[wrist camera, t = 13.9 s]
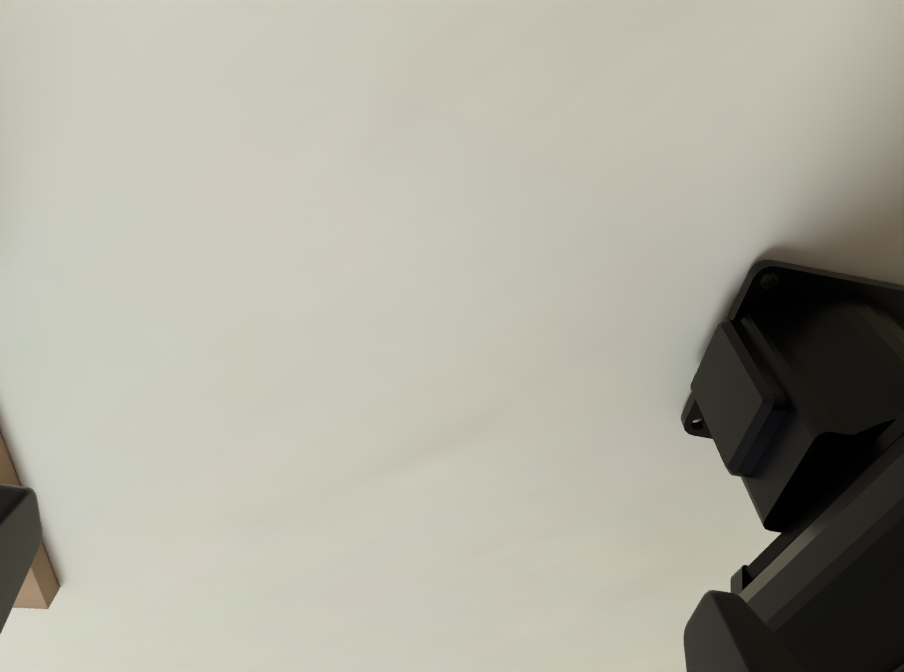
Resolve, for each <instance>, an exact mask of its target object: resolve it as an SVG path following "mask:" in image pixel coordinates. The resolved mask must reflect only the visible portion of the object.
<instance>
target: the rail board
mask: <svg viewBox="0 0 904 672" xmlns="http://www.w3.org/2000/svg"><path fill="white" fill-rule="evenodd" d="M0 484H9V485H16V486H20V483H19V480H18V478H17V475H16V472H15V470H14V467H13V465H12V462H11V459H10V457H9V454H8V451H7V449H6V446H5V444H4V441H3V438H2V436H1V433H0ZM59 589H60V588H59V586H58V583H57V580H56V578H55V575H54V572H53V570H52V567H51V565H50V562H49V559H48V557H47V554H46V551H45V549H44V546H43V543H42V541H41V543H40V547H39V550H38V552H37V554H36V556H35V559H34V561H33V563H32V565H31V568H30V570H29V572H28V574H27V576H26V579H25V581H24V583H23V585H22V587H21V590H20V592H19V594H18V596H17V598H16V601H15V603H14V605H13V607H12V608H36V609H48V608H49V606H50V604H51V603H52V601H53V599H54V598H55V596H56V594H57V592H58V591H59Z"/></svg>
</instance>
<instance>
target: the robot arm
mask: <svg viewBox="0 0 904 672" xmlns="http://www.w3.org/2000/svg"><path fill="white" fill-rule="evenodd" d="M767 274H773V277H772V278H771V279H770V280H769V281H767V282H761V279H762V278H763V277H764V276H765V275H767ZM691 390H692V393H691V396H690V398H689V400H688V402H687V404H686V406H685V408H684V410H683V413H682V415H681V421H682V424H683V427H684V429H685V431H686V432H687V433H688V434H691V435H693V436H699V437H705V438H711V439H713V440H714V442H715V444H716V447H717V449H718V451H719V453H720V456H721V458H722V460H723V463H724V465H725V467H726V468H727V470H728V472H729V473H730V474H731V475H733V476H739V477H741V478H742V480H743V483H744V485H745V487H746V489H747V491H748V494H749V496H750V498H751V500H752V502H753V504H754V507H755V509H756V511H757V513H758V515H759V518H760V520H761V522H762V524H763V526H764V528H765V529H767V530H769V531H774V532H780V533H781V534H780V535H779V536H778V537H777V538H776V539H775V540H774V541H773V542H772V543H771V544H770V545H769V546H768V547H767V548H766V549H765V550H764V551H763V552H762V553H761V554H760V555H759V556H758V557H757V558H756V559H755V560H754V561H753V562H752V563H751V564H750V565H749V566H747V565H744V566H742V567H741V568H740V569H739V570H738V571H737V572H736V573H735V574H734V575H733V576H732V577H731V593H729V592H722V591H716V590H710V591H708V592H707V593H705V594H704V596H703V597H702V599H701V601H700V602H699V604H698V606H697V607H696V609H695V611H694V613H693V614H692V616H691V618H690V619H689V621H688V623H687V625H686V627H685V631H684V650H685V659H686V668H687V672H904V286H901V285H896V284H891V283H886V282H881V281H876V280H871V279H866V278H861V277H855V276H850V275H845V274H840V273H835V272H830V271H825V270H820V269H815V268H810V267H804V266H799V265H794V264H789V263H784V262H779V261H774V260H764V261H761V262H758V263H757V264H755V265H754V266H753V267H752V268H751V269H750V271H749V273H748V275H747V277H746V279H745V281H744V283H743V285H742V287H741V289H740V292H739V294H738V296H737V298H736V300H735V302H734V304H733V306H732V309H731V311H730V313H729V315H728V317H727V319H726V320H724V321H723V322H722V323H720V324H719V325H718V327H717V329H716V331H715V334H714V336H713V338H712V340H711V342H710V344H709V346H708V349H707V351H706V353H705V355H704V357H703V359H702V361H701V364H700V366H699V368H698V370H697V372H696V374H695V376H694V379H693V381H692V383H691ZM697 418H703V419H702V420H701V421H699V422H693V421H694V420H695V419H697ZM41 539H42V528H41V521H40V515H39V508H38V502H37V496H36V493H35V492H34V490H33V489H31V488H29V487H22V486H16V485H9V484H0V634H1V632H2V629H3V627H4V625H5V623H6V621H7V618H8V616H9V614H10V612H11V610H12V607H13V605H14V603H15V601H16V598H17V596H18V594H19V592H20V590H21V587H22V585H23V583H24V581H25V579H26V576H27V574H28V572H29V570H30V568H31V565H32V563H33V561H34V559H35V556H36V554H37V552H38V550H39V547H40V543H41Z"/></svg>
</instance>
